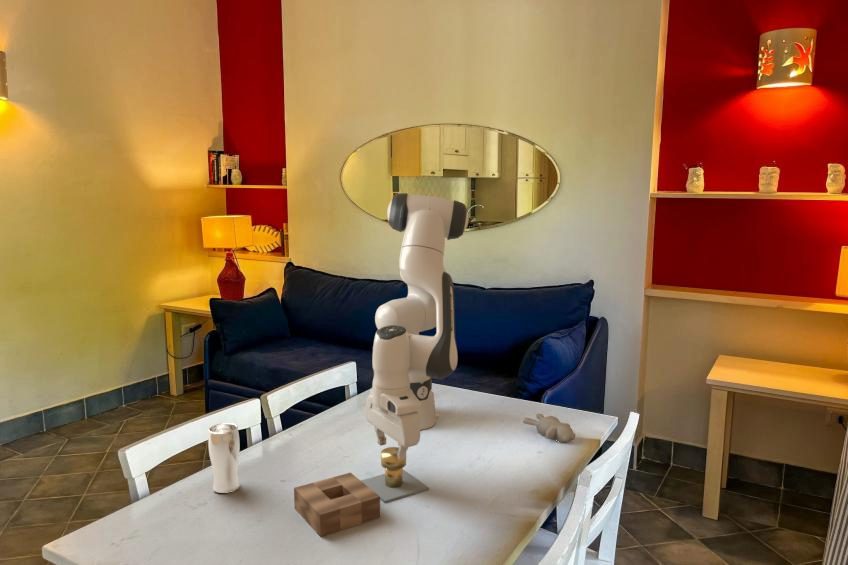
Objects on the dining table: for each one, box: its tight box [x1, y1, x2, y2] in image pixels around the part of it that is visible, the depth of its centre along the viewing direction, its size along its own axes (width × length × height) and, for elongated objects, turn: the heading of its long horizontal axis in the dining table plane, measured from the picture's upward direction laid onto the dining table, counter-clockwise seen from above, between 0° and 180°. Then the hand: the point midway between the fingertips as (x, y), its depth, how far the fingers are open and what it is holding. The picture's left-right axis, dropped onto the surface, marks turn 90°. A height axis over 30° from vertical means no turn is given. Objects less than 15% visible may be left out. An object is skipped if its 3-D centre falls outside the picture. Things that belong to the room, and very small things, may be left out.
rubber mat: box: [360, 469, 430, 504], centre depth 150 cm, size 12×12×1 cm
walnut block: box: [293, 472, 381, 538], centre depth 137 cm, size 14×14×5 cm
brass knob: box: [380, 446, 407, 488], centre depth 149 cm, size 6×6×8 cm
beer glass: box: [207, 422, 241, 493], centre depth 147 cm, size 7×7×15 cm
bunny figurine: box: [522, 413, 576, 443], centre depth 181 cm, size 10×5×15 cm
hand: (391, 451), depth 149 cm, fingers open, 8 cm apart
